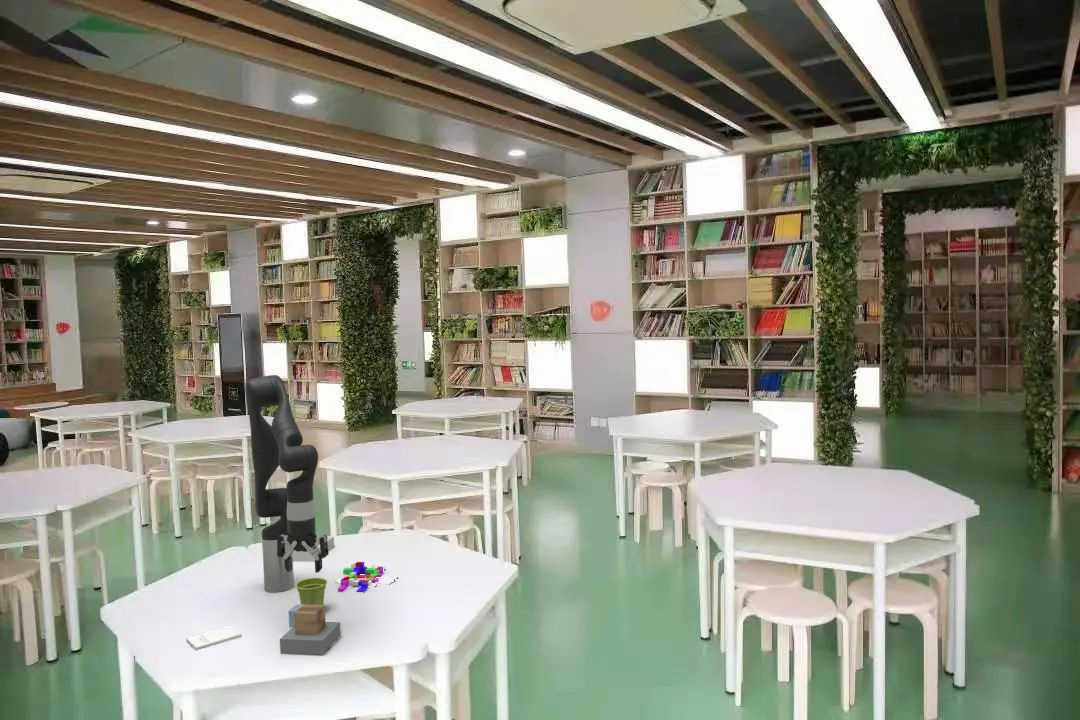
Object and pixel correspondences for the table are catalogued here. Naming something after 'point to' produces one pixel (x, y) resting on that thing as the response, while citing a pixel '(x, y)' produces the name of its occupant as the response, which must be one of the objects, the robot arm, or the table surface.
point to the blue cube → (291, 614)
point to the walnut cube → (309, 619)
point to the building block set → (359, 576)
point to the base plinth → (310, 640)
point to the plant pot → (311, 591)
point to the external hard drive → (214, 637)
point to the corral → (306, 555)
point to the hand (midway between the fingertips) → (303, 571)
